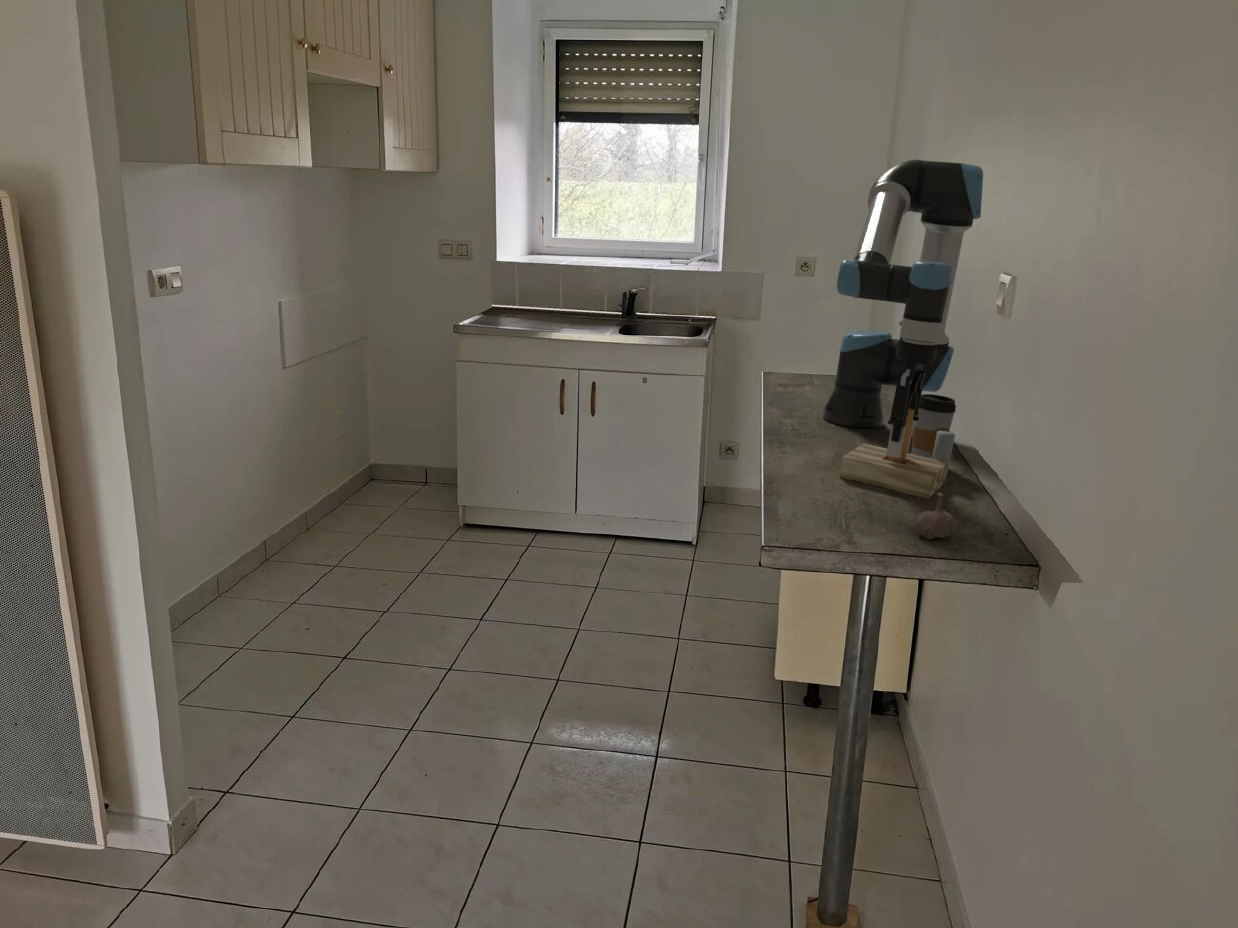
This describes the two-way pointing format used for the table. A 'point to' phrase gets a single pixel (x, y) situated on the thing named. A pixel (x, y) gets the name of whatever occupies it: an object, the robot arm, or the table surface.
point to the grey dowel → (943, 446)
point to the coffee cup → (931, 422)
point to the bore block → (894, 471)
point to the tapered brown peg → (906, 439)
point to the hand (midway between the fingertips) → (897, 453)
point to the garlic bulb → (935, 522)
